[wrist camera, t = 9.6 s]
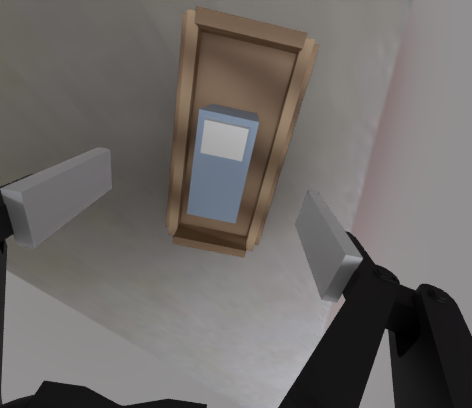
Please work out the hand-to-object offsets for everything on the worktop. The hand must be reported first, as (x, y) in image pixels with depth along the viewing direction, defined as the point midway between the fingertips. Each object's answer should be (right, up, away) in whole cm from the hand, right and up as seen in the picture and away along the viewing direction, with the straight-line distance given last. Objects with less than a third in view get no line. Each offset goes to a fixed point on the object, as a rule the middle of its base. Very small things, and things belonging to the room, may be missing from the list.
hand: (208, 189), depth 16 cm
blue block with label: (+1, +4, +9) cm, 10 cm away
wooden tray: (+1, +5, +11) cm, 12 cm away
